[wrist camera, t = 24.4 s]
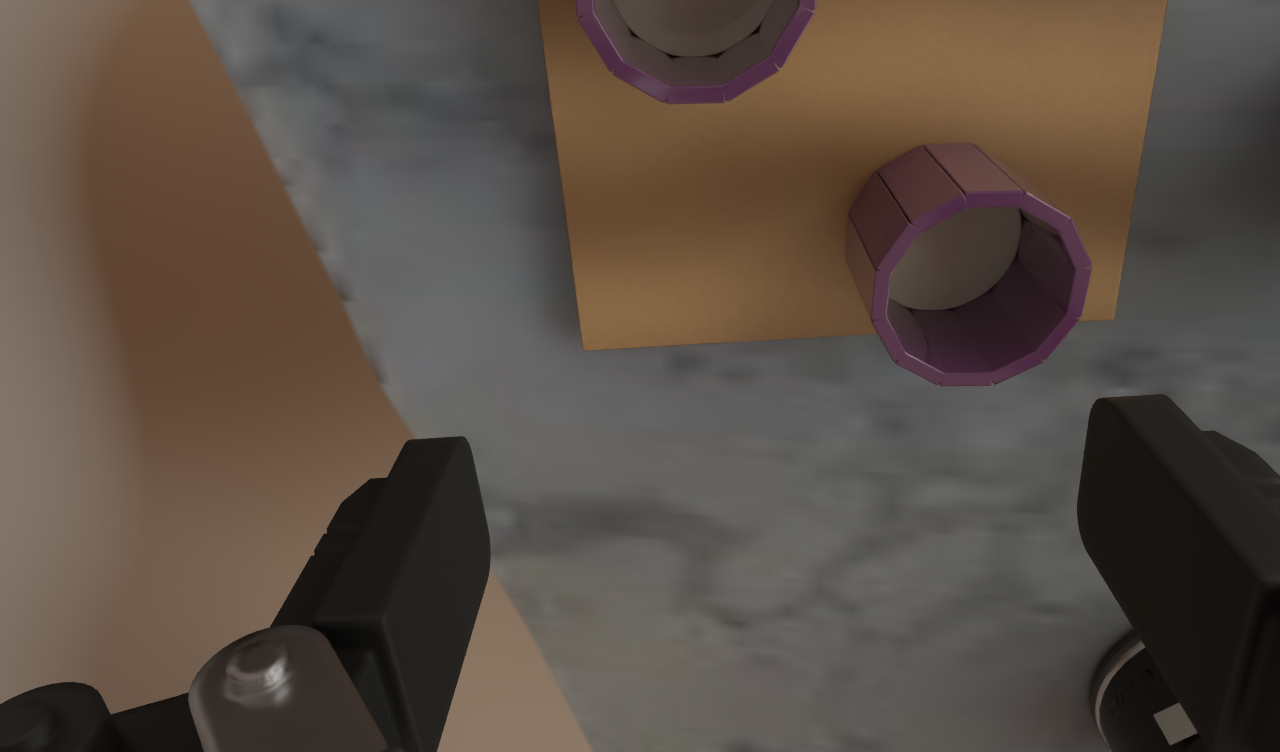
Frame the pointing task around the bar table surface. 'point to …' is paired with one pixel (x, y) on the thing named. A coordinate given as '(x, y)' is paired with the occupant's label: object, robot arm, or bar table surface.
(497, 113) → the bar table surface
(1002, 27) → the oak board
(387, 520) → the robot arm
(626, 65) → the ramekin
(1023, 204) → the end ramekin
